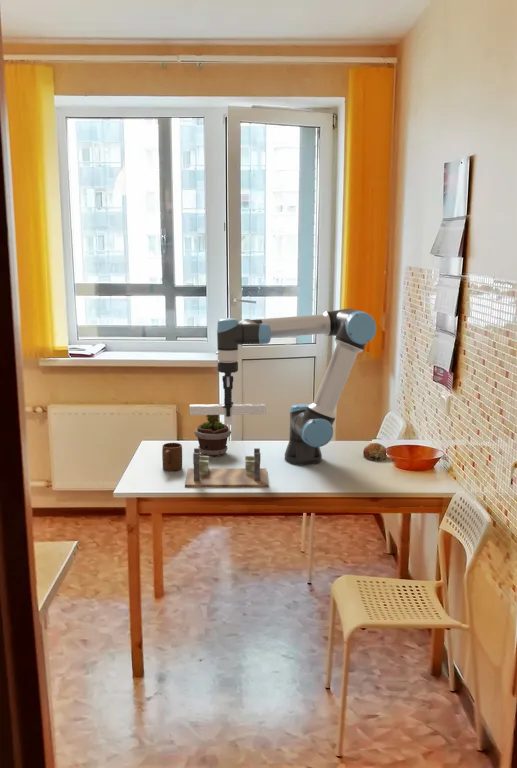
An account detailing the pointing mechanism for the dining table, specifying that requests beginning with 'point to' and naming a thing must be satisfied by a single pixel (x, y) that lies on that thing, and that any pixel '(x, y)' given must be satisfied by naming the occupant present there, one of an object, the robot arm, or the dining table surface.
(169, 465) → the mug
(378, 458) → the bread roll
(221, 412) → the rail
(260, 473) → the rack
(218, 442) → the flowerpot
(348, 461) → the dining table surface
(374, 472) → the dining table surface
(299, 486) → the dining table surface
